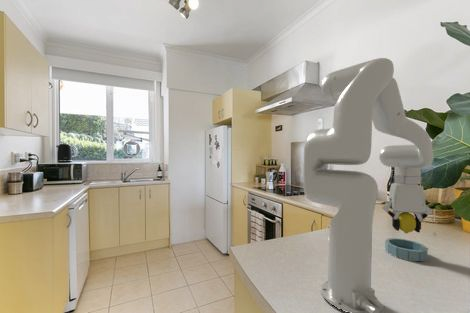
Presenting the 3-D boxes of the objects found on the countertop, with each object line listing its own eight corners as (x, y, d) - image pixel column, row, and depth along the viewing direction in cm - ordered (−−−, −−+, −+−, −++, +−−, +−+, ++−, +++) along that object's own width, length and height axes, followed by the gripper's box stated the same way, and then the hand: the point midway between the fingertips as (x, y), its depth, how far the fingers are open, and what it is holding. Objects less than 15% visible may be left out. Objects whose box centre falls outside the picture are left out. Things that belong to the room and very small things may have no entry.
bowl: (436, 259, 77) (436, 249, 77) (409, 263, 74) (409, 253, 74) (402, 245, 89) (403, 237, 89) (378, 248, 86) (378, 239, 86)
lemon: (397, 229, 85) (397, 208, 85) (416, 233, 82) (416, 211, 82) (396, 233, 81) (396, 211, 81) (415, 237, 77) (416, 214, 77)
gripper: (429, 180, 82) (428, 229, 82) (376, 178, 87) (376, 224, 87) (442, 182, 75) (441, 236, 75) (383, 180, 80) (382, 231, 80)
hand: (406, 229), depth 81 cm, fingers closed on lemon, 5 cm apart
